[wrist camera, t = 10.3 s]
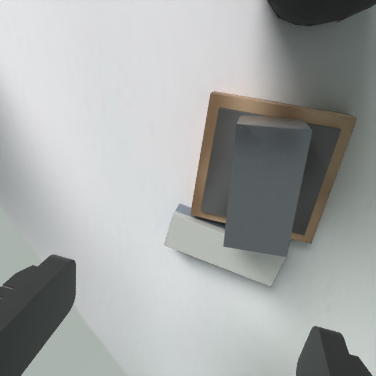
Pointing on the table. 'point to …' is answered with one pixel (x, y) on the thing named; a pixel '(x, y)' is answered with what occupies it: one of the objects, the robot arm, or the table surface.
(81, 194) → the table surface
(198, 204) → the stand
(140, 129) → the table surface
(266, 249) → the block
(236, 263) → the eraser
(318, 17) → the portable speaker
